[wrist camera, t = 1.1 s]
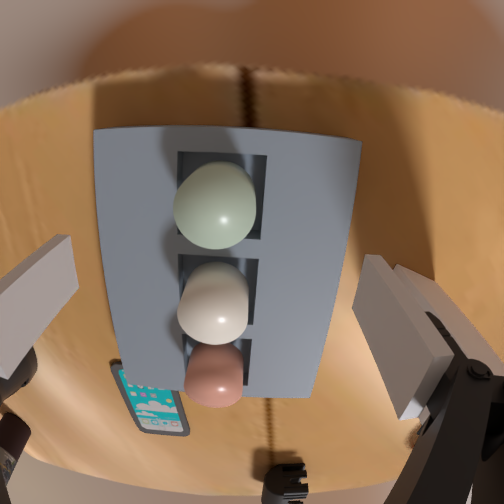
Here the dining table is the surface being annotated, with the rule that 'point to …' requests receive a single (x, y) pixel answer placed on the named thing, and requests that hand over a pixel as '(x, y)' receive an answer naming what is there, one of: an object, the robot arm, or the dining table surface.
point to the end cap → (285, 484)
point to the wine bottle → (11, 442)
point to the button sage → (216, 205)
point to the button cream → (214, 304)
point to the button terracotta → (214, 375)
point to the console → (239, 255)
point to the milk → (449, 321)
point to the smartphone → (152, 406)
